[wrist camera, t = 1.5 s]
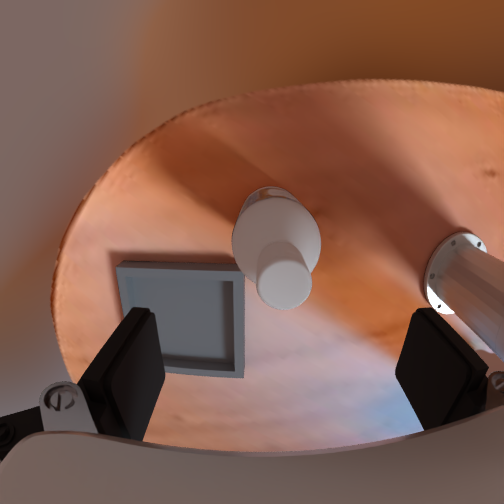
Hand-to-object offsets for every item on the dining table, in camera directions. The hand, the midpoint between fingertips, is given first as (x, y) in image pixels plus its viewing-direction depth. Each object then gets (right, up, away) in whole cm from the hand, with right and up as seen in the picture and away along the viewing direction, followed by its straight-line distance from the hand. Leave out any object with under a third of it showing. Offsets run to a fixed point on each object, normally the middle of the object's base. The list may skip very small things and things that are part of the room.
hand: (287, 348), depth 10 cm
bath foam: (+1, +8, +25) cm, 26 cm away
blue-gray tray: (-10, -6, +29) cm, 31 cm away
